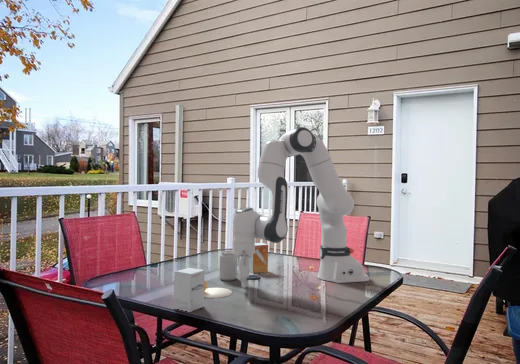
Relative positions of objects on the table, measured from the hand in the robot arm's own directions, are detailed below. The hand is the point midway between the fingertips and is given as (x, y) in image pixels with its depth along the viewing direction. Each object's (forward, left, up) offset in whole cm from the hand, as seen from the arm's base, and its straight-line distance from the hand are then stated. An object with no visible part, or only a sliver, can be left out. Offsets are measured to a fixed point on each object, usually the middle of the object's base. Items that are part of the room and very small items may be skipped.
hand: (243, 283), depth 152 cm
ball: (+17, +5, +1) cm, 17 cm away
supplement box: (+19, +22, -2) cm, 29 cm away
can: (+6, -16, -2) cm, 18 cm away
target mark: (+11, +5, -2) cm, 12 cm away
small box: (-8, -30, -2) cm, 32 cm away
